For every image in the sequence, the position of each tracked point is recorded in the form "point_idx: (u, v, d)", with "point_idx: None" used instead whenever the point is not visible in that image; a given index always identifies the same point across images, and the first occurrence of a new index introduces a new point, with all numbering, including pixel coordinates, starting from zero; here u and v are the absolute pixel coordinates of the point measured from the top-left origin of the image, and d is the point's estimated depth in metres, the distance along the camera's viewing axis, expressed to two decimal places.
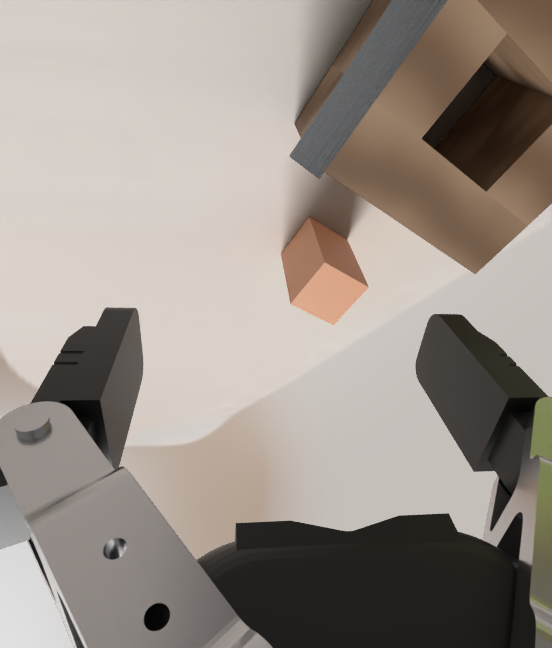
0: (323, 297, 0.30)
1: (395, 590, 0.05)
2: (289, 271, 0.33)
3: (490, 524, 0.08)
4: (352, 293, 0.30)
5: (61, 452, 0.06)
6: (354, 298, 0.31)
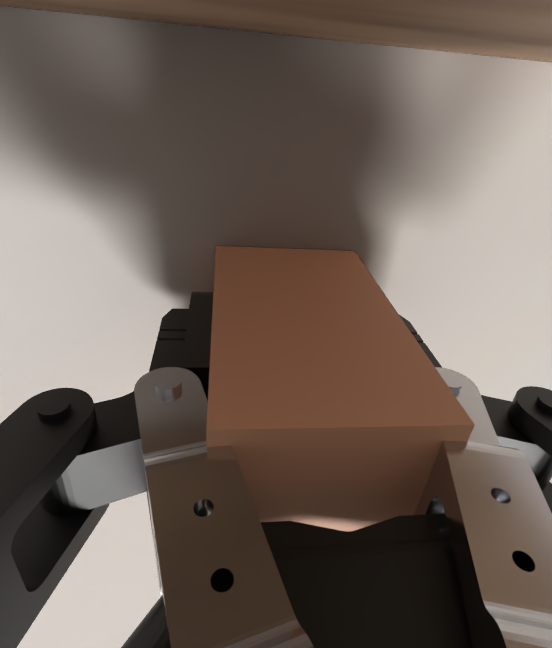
0: None
1: (395, 590, 0.05)
2: None
3: None
4: (416, 471, 0.07)
5: (183, 414, 0.07)
6: None
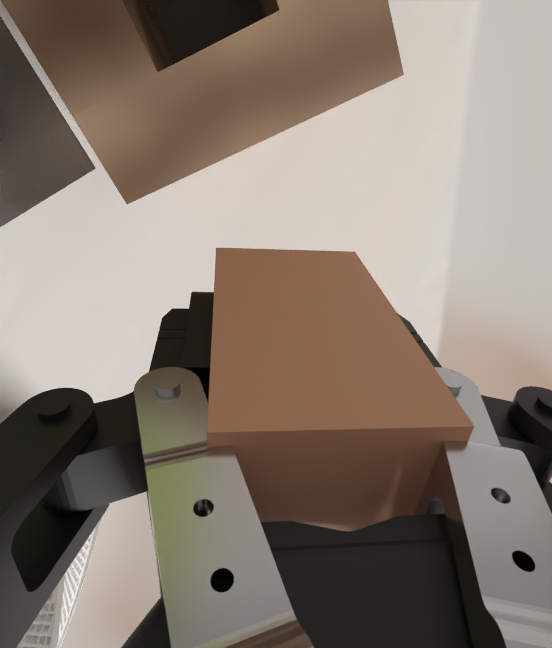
0: None
1: (395, 590, 0.05)
2: None
3: None
4: (416, 472, 0.07)
5: (183, 414, 0.07)
6: None
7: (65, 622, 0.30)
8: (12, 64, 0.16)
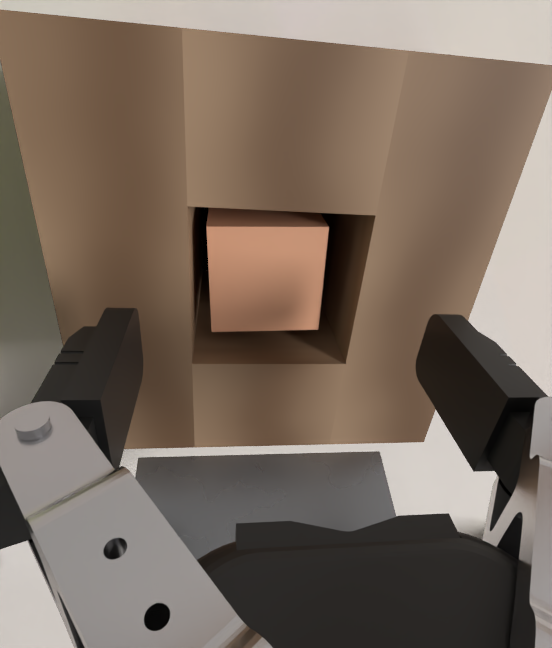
0: (259, 291, 0.15)
1: (395, 590, 0.05)
2: None
3: (490, 524, 0.08)
4: (307, 255, 0.14)
5: (61, 452, 0.06)
6: (318, 263, 0.15)
7: None
8: (277, 477, 0.17)
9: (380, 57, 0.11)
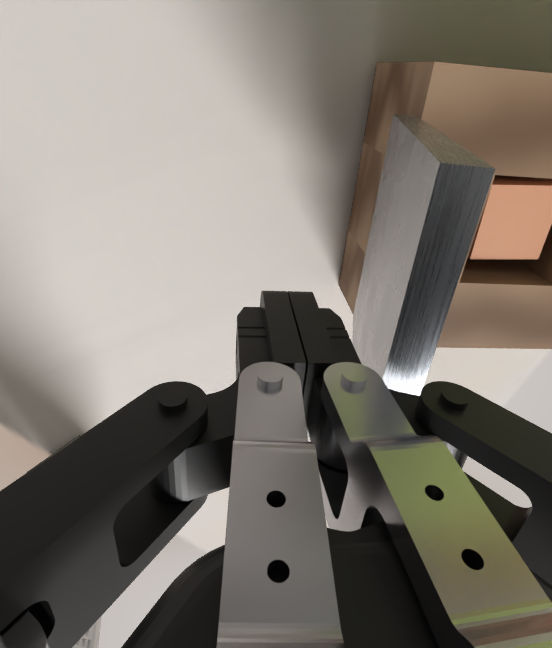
0: (512, 219, 0.22)
1: (395, 590, 0.05)
2: None
3: (330, 509, 0.08)
4: (525, 248, 0.23)
5: (278, 408, 0.08)
6: (518, 255, 0.23)
7: None
8: None
9: None
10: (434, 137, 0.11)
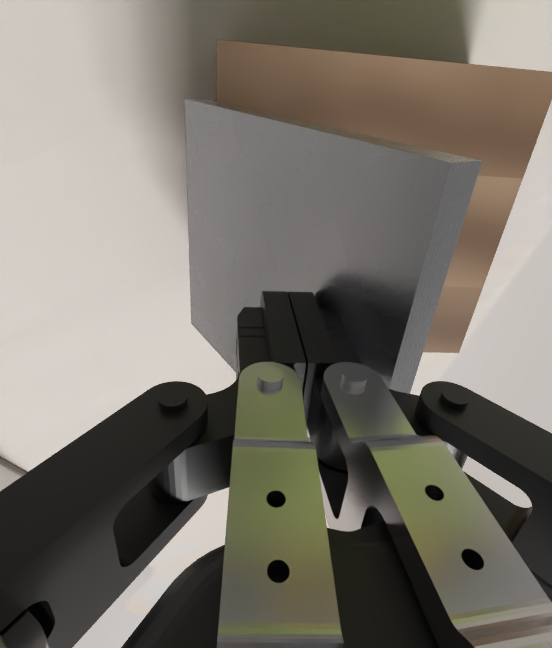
0: None
1: (395, 590, 0.05)
2: None
3: (330, 509, 0.08)
4: None
5: (278, 408, 0.08)
6: None
7: None
8: None
9: (483, 275, 0.22)
10: (327, 129, 0.11)
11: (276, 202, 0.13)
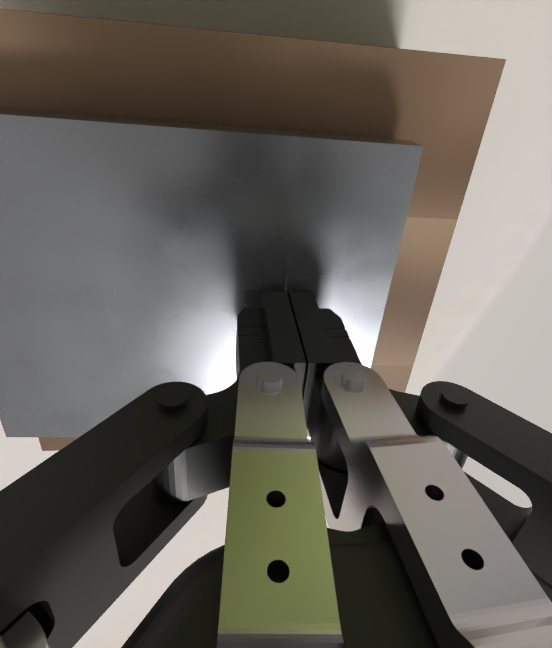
0: None
1: (395, 590, 0.05)
2: None
3: (330, 509, 0.08)
4: None
5: (278, 408, 0.08)
6: None
7: None
8: None
9: (412, 349, 0.16)
10: (250, 130, 0.10)
11: (197, 221, 0.11)
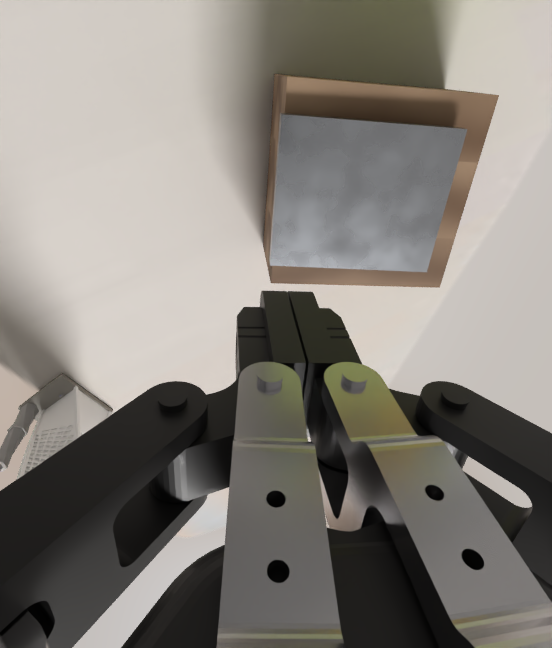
0: None
1: (395, 590, 0.05)
2: None
3: (331, 509, 0.08)
4: None
5: (278, 408, 0.08)
6: None
7: None
8: None
9: (454, 229, 0.32)
10: (401, 123, 0.27)
11: (377, 159, 0.28)
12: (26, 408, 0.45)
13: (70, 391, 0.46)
